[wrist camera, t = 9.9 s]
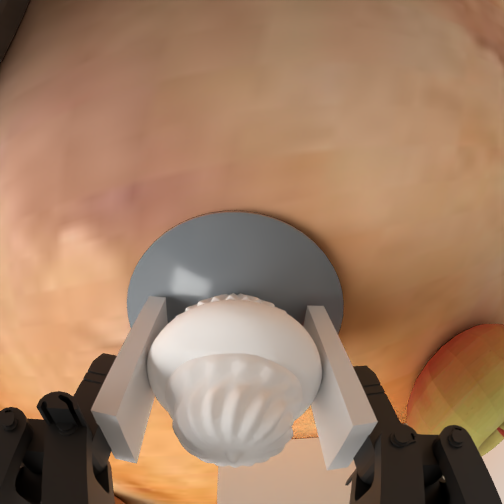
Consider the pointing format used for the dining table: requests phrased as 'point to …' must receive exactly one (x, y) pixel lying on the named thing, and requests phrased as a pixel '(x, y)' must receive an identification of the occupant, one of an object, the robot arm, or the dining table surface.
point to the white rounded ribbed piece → (234, 378)
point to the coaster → (236, 266)
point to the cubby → (287, 478)
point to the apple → (463, 388)
